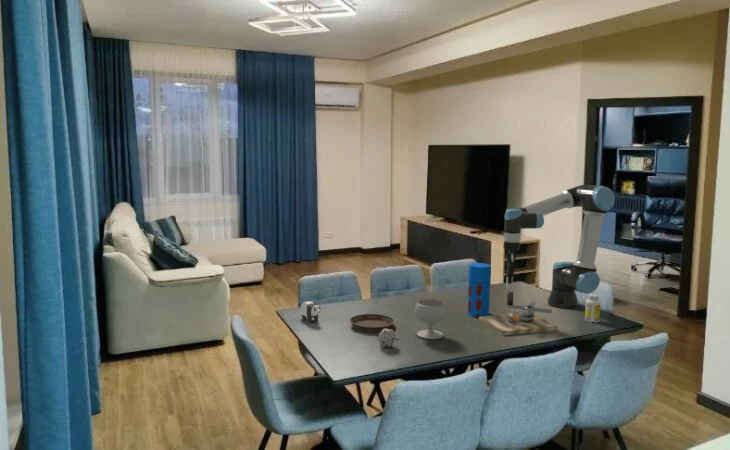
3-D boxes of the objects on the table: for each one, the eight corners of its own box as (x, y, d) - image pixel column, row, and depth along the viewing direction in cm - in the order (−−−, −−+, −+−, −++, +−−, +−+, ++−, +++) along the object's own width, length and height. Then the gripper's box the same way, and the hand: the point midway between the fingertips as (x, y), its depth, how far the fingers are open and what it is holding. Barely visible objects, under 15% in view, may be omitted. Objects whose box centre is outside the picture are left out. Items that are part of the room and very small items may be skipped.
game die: (382, 354, 231) (374, 331, 235) (401, 346, 231) (393, 324, 235) (381, 350, 222) (372, 327, 226) (400, 343, 223) (391, 320, 227)
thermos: (489, 317, 269) (491, 268, 266) (466, 316, 271) (468, 266, 268) (488, 311, 280) (490, 263, 276) (467, 310, 282) (468, 262, 279)
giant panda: (299, 318, 266) (299, 299, 265) (310, 316, 269) (309, 297, 268) (314, 326, 254) (314, 306, 253) (324, 324, 257) (324, 304, 256)
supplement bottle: (599, 320, 267) (601, 294, 266) (599, 323, 261) (601, 297, 260) (584, 318, 270) (586, 292, 268) (584, 321, 264) (585, 295, 262)
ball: (517, 320, 258) (518, 312, 257) (522, 322, 254) (522, 315, 254) (510, 320, 257) (511, 313, 256) (515, 323, 253) (515, 315, 253)
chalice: (438, 343, 234) (439, 308, 232) (408, 336, 241) (409, 303, 239) (451, 333, 246) (452, 301, 244) (422, 328, 253) (423, 296, 251)
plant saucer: (372, 317, 270) (372, 310, 269) (403, 327, 255) (403, 320, 255) (340, 326, 256) (340, 319, 255) (372, 337, 241) (372, 330, 240)
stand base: (529, 316, 273) (529, 311, 272) (556, 330, 252) (557, 325, 252) (478, 320, 265) (478, 316, 264) (502, 335, 244) (503, 330, 244)
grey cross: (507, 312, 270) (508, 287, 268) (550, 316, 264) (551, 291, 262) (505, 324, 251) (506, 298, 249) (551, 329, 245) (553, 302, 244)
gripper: (502, 238, 270) (499, 285, 273) (505, 243, 257) (502, 292, 260) (518, 239, 269) (515, 286, 272) (521, 243, 256) (518, 293, 259)
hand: (509, 289), depth 266 cm, fingers closed
